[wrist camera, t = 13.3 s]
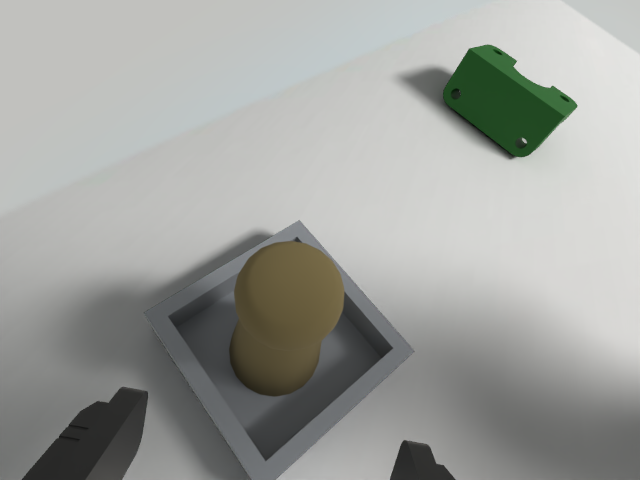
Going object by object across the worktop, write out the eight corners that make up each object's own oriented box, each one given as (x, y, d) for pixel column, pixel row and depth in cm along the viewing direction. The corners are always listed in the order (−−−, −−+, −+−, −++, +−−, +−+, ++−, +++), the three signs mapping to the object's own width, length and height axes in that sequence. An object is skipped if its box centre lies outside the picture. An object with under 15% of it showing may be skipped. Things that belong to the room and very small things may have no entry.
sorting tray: (294, 240, 32) (299, 220, 30) (398, 362, 29) (414, 351, 26) (152, 328, 27) (143, 312, 24) (258, 491, 23) (261, 492, 21)
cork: (231, 305, 28) (228, 217, 19) (317, 306, 29) (354, 224, 20) (225, 397, 25) (218, 347, 16) (322, 395, 26) (368, 347, 17)
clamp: (505, 160, 48) (588, 120, 41) (485, 175, 44) (574, 133, 37) (455, 70, 47) (531, 14, 41) (431, 77, 44) (511, 16, 37)
